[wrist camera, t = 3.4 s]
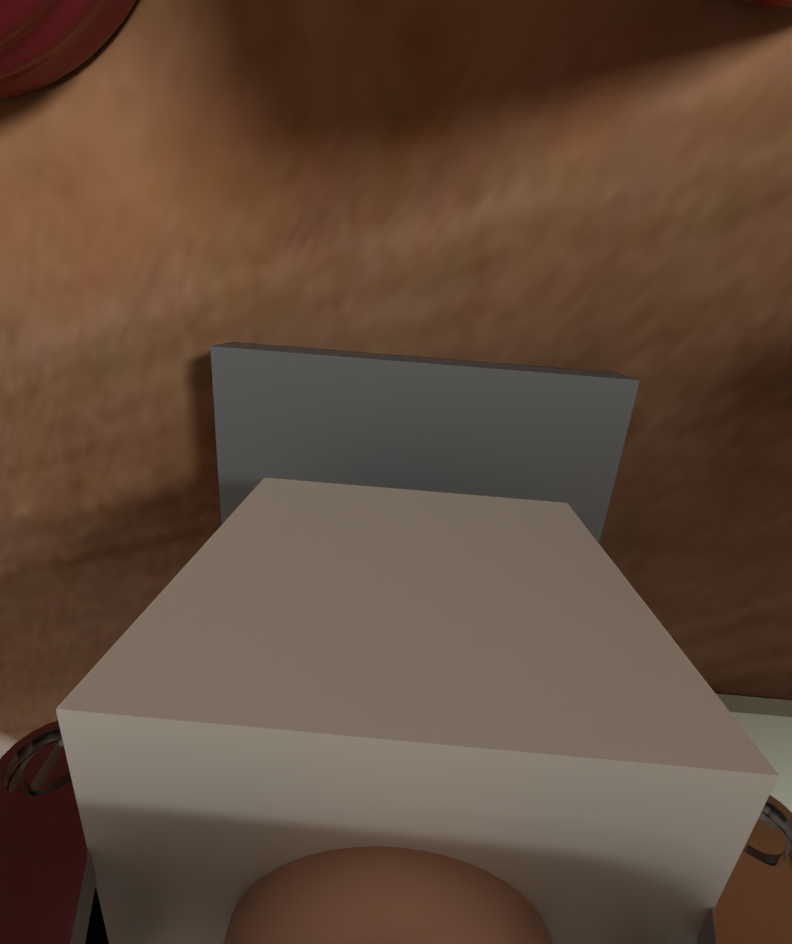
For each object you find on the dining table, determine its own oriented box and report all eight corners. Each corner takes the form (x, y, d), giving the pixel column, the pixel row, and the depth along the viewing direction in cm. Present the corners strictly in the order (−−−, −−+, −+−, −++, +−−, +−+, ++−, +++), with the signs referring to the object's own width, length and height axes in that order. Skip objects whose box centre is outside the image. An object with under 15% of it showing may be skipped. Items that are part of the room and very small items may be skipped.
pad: (936, 713, 17) (960, 732, 16) (819, 904, 20) (835, 927, 20) (628, 685, 17) (638, 703, 16) (568, 880, 20) (574, 902, 20)
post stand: (616, 372, 13) (1044, 510, 4) (545, 677, 17) (693, 1100, 8) (232, 342, 13) (-151, 411, 4) (246, 651, 17) (55, 1033, 8)
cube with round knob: (567, 502, 10) (977, 1028, 3) (518, 731, 12) (668, 1361, 5) (264, 477, 10) (-136, 919, 3) (270, 709, 12) (55, 1294, 5)
